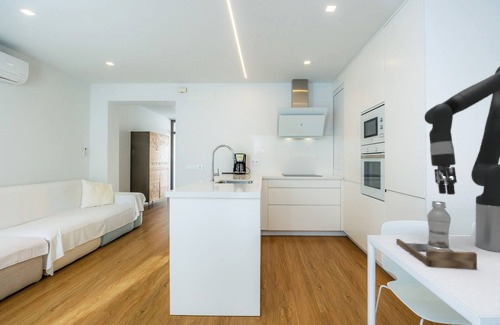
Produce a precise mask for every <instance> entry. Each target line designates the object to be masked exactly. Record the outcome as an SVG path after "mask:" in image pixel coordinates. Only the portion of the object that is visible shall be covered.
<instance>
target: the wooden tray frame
mask: <svg viewBox="0 0 500 325" xmlns="http://www.w3.org/2000/svg"><path fill="white" fill-rule="evenodd" d="M396 245H398V246H400V247H401V248H402V249H403V250H405V251H406V252H407V253H409V254H411V255H412V256H413V257H414V258H415V259H417V260H419V261H420V262H421V263H422V264H424V265H425V266H427V267H430V268H442V269H443V268H444V269H445V268H446V269H447V268H448V269H463V270H464V269H465V270H477V269H478V267H477V266H478V254H477V253H476V252H474V251H473V252H472V251H455V250H453V249H450V251H438V250H426V249H427V245H428V243H415V242H414V243H412V242H409V243H408V242H404V241H403V240H402V239H400V238H396ZM421 252H423V253H424V252H425V253H426V254H422V253H421Z"/></svg>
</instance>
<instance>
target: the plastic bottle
mask: <svg viewBox="0 0 500 325" xmlns="http://www.w3.org/2000/svg"><path fill="white" fill-rule="evenodd" d="M446 208H447V207H446V202H445V201H438V200H435V201H434V200H433V201H431V210H430V211H429V212H428V213H427V216H426V217H427V225H428V238H427V239H428V241H427V244H428V245H427V249H426V250H438V251H450V243H449V233H450V232H449V231H450V225H451V220H452V218H451V215H450V214H449V212H448V211H447V210H446Z"/></svg>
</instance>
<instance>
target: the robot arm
mask: <svg viewBox="0 0 500 325" xmlns="http://www.w3.org/2000/svg"><path fill="white" fill-rule="evenodd" d="M489 96H492V97H491V101H490V106H489V109H488V115H487V118H486V122H485V125H484V130H483V135H482V140H481V142H480V143H481V144H480V148H479V151H478V154H477V156H476V159H475V160H474V164H473V167H472V170H471V180H472V181H473V183H474V184H475V185H477V186H480V187H483V192H482V193H481V194H480V195H477V196H476V197H475V244H474V245H475V246H476V247H478V248H480V249H483V250H487V251H492V252H496V253H500V66H499V67H498V68H497V69H496V70H495V72H494V74H492V75H491V76H489V77H486V78H485V79H483V80H481V81H479V82H477V83H475V84H472V85H470V86H468V87H466V88H465V89H462V90H461V91H459V92H458V93H456V94H454V95H452V96H451V97H450V98H448V99H446V100H445V101H443V102H440V103H438V104H436V105H434V106H432V107H431V108H430V109H428V110H427V111H426V112H425V113H424V121H425V122H426V123H427V124H429V125H431V127H432V128H431V130H430V131H429V133H428V134H429V145H430V148H429V151H430V152H429V153H430V161H431V162H430V163H431V167H436V168H435V169H434V181H435V184H437V187H438V193H439V194H440V195H445V194H447V195H452V196H453V195H455V194H456V191H455V184H456V183H457V182H458V181H457V175H456V168H455V165H456V164H457V163H456V157H455V156H456V155H455V148H454V144H453V138H452V126H453V120H454V118H453V116H454V115H456V114H457V113H460V112H463V111H464V110H466V109H469V108H470V107H472V106H474V105H476V104H478V103H479V102H481V101H482V100H484V99H486V98H488V97H489Z"/></svg>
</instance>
